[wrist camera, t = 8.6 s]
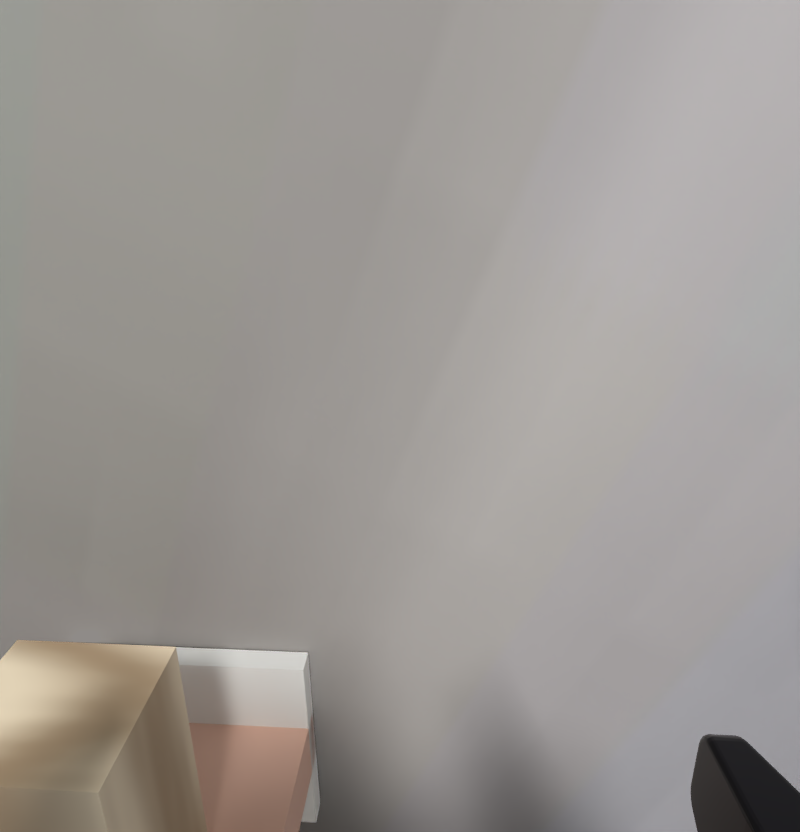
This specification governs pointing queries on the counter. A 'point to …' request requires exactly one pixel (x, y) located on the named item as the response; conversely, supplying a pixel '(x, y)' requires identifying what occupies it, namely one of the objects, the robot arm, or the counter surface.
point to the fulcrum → (252, 737)
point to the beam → (95, 740)
